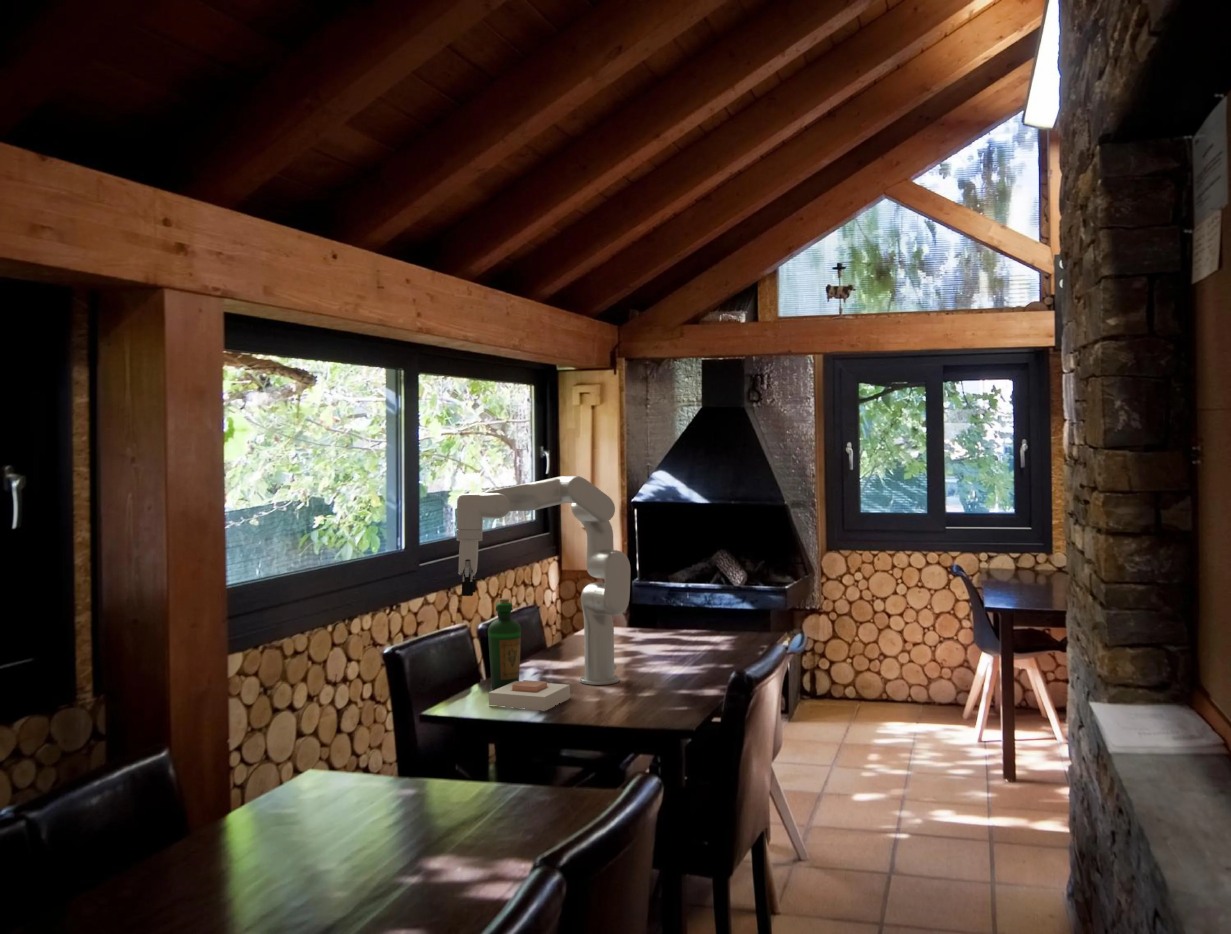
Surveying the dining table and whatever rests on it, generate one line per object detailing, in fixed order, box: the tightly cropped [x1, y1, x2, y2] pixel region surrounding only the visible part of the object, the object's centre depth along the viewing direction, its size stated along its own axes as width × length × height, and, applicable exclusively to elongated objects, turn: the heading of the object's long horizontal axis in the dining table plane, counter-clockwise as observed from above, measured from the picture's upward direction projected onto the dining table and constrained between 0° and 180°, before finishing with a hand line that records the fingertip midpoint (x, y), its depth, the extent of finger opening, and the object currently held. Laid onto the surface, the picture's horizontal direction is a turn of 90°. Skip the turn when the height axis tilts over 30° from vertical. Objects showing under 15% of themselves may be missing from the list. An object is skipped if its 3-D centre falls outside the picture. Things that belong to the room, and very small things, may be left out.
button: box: [512, 679, 548, 693], centre depth 300 cm, size 8×8×4 cm
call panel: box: [488, 680, 571, 712], centre depth 300 cm, size 17×18×4 cm
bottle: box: [487, 597, 522, 690], centre depth 319 cm, size 11×11×28 cm
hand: (468, 594), depth 299 cm, fingers open, 9 cm apart
